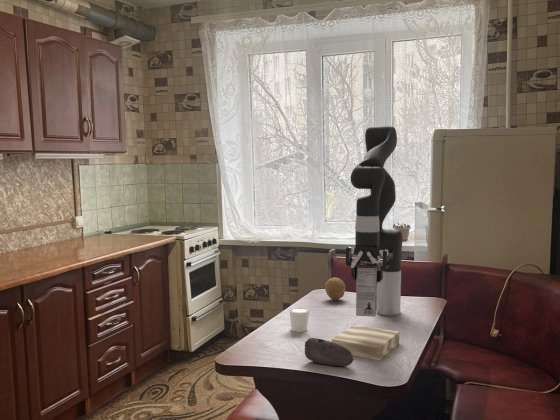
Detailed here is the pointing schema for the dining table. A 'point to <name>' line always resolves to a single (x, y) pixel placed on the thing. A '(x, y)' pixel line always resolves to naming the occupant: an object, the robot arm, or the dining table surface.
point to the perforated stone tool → (327, 352)
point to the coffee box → (366, 289)
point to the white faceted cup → (299, 319)
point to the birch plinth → (368, 341)
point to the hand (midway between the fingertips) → (366, 280)
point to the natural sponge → (335, 288)
